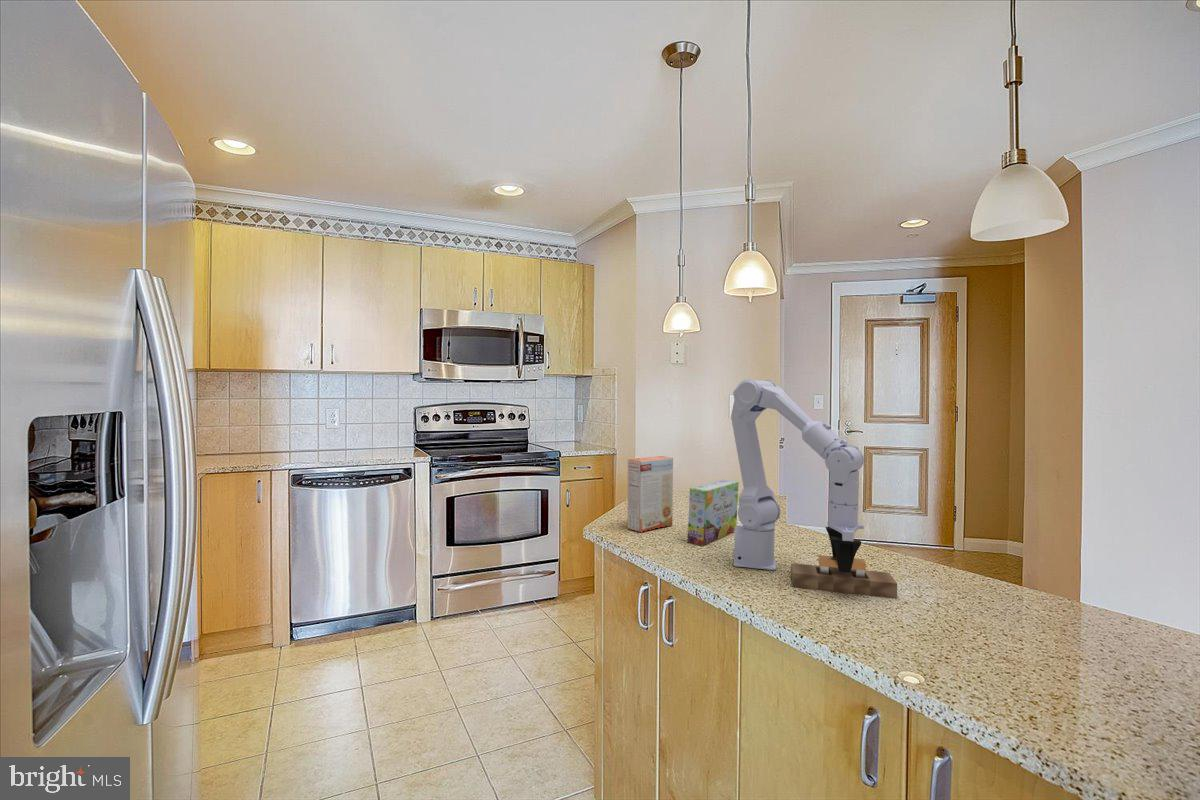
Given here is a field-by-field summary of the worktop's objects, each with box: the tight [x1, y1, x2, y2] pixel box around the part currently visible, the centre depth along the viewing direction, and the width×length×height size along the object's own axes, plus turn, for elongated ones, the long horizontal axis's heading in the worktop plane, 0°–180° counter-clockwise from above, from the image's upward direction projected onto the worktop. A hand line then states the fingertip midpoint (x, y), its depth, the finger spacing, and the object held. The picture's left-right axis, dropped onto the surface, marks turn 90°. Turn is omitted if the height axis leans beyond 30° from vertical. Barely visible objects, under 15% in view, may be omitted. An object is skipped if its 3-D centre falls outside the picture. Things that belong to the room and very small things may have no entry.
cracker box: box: [627, 455, 674, 533], centre depth 166 cm, size 14×6×21 cm, turn 130°
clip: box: [817, 554, 867, 578], centre depth 118 cm, size 9×3×6 cm, turn 74°
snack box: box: [687, 479, 740, 547], centre depth 157 cm, size 21×6×15 cm, turn 143°
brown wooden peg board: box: [790, 562, 898, 599], centre depth 118 cm, size 20×7×3 cm, turn 74°
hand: (841, 566), depth 118 cm, fingers open, 7 cm apart
